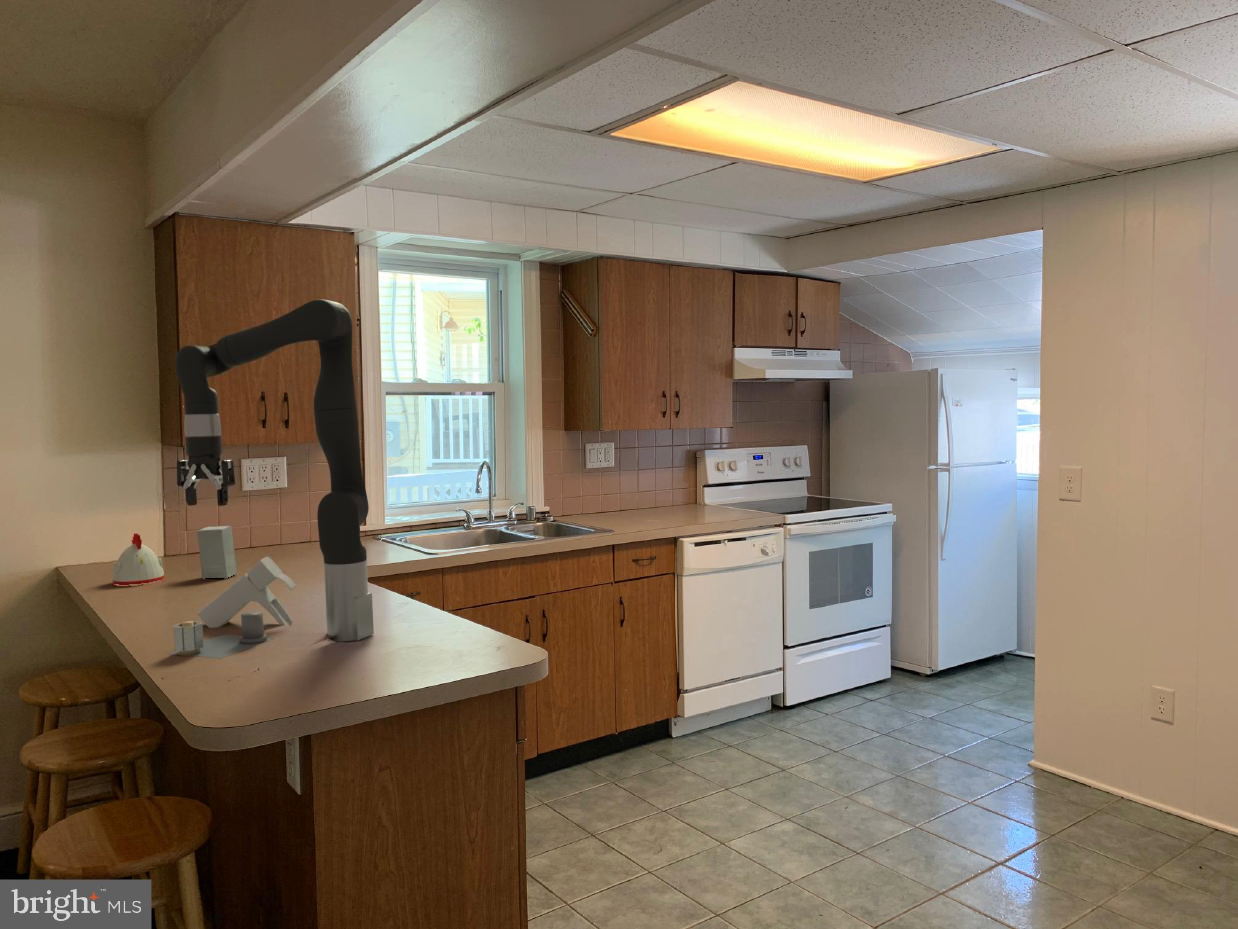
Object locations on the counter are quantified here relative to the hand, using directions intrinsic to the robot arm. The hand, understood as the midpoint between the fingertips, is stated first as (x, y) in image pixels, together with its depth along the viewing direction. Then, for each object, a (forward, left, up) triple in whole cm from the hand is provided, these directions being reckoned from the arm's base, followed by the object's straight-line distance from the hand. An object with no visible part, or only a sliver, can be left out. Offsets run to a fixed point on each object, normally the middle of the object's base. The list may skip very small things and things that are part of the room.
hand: (207, 505), depth 208 cm
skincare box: (+52, -59, -30) cm, 84 cm away
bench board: (-12, +11, -30) cm, 34 cm away
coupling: (-9, +17, -28) cm, 34 cm away
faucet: (-3, -7, -30) cm, 31 cm away
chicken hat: (+72, -48, -30) cm, 92 cm away
